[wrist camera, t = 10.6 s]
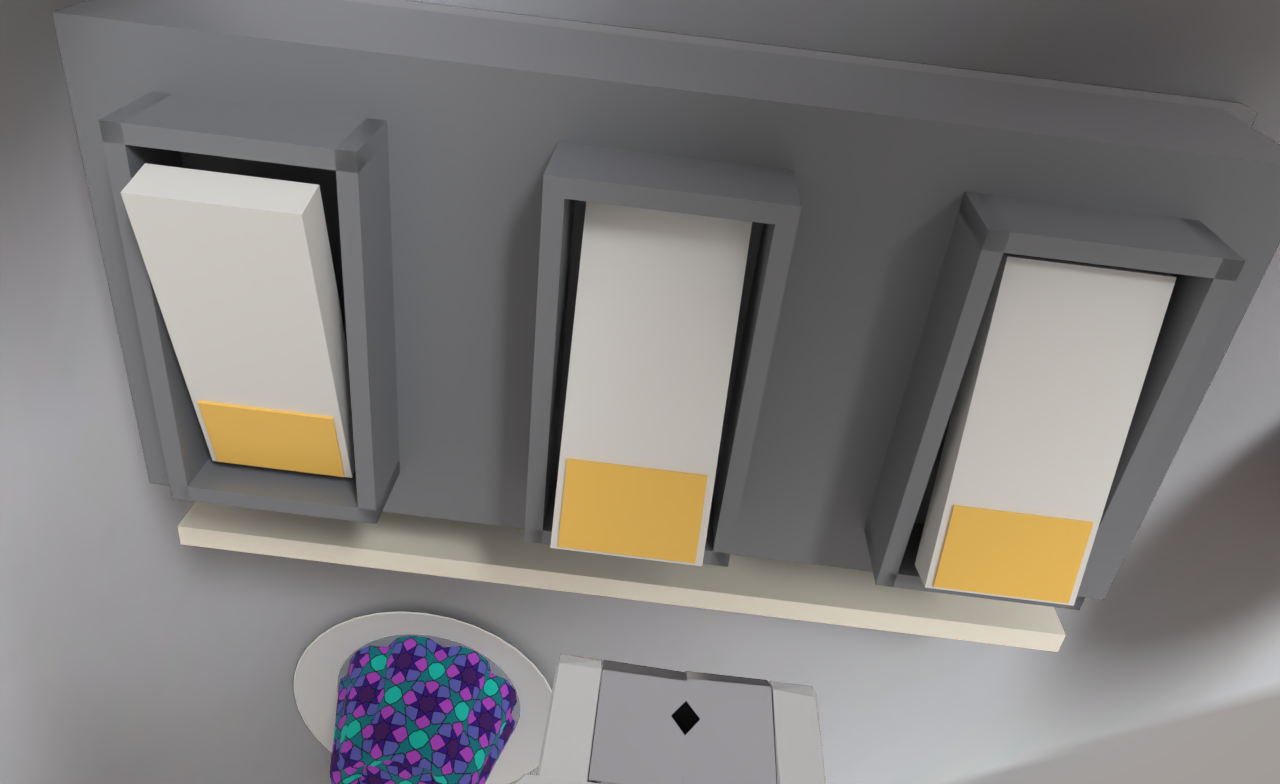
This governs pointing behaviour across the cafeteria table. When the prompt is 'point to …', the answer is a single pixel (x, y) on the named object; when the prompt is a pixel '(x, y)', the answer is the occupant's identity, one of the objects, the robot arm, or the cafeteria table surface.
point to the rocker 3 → (1040, 427)
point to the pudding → (421, 703)
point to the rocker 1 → (250, 313)
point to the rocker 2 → (648, 381)
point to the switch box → (675, 182)
